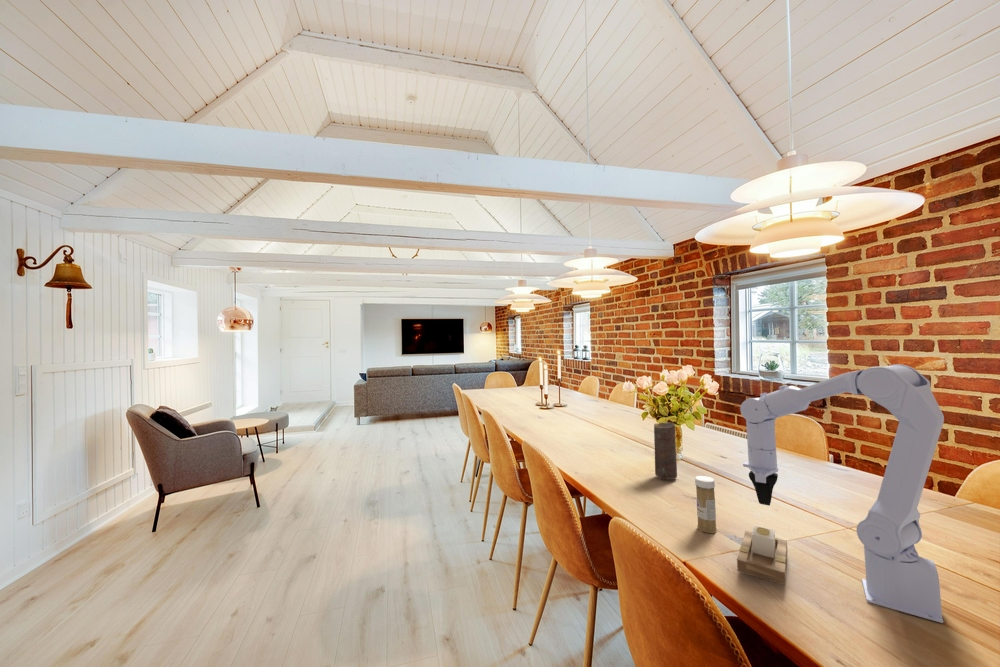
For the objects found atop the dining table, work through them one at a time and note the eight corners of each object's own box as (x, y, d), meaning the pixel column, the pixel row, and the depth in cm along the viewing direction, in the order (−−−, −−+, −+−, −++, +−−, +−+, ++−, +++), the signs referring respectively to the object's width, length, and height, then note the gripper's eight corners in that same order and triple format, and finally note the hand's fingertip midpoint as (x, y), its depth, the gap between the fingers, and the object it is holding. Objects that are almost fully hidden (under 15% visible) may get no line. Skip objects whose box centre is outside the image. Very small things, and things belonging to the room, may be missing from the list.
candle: (681, 482, 133) (678, 425, 134) (660, 482, 133) (657, 426, 134) (671, 474, 141) (669, 421, 141) (652, 475, 141) (649, 421, 141)
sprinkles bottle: (693, 526, 101) (691, 475, 102) (709, 524, 102) (707, 474, 102) (704, 534, 97) (701, 481, 97) (721, 533, 97) (718, 480, 98)
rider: (754, 543, 88) (753, 523, 88) (775, 548, 85) (774, 528, 85) (752, 552, 84) (751, 532, 84) (774, 558, 81) (773, 537, 82)
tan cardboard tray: (746, 545, 91) (745, 529, 91) (787, 556, 86) (786, 539, 86) (738, 576, 79) (737, 558, 79) (785, 591, 74) (784, 571, 74)
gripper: (745, 438, 100) (748, 490, 99) (738, 452, 88) (741, 510, 88) (778, 442, 95) (781, 496, 95) (775, 456, 84) (779, 518, 83)
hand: (764, 503), depth 91 cm, fingers closed
